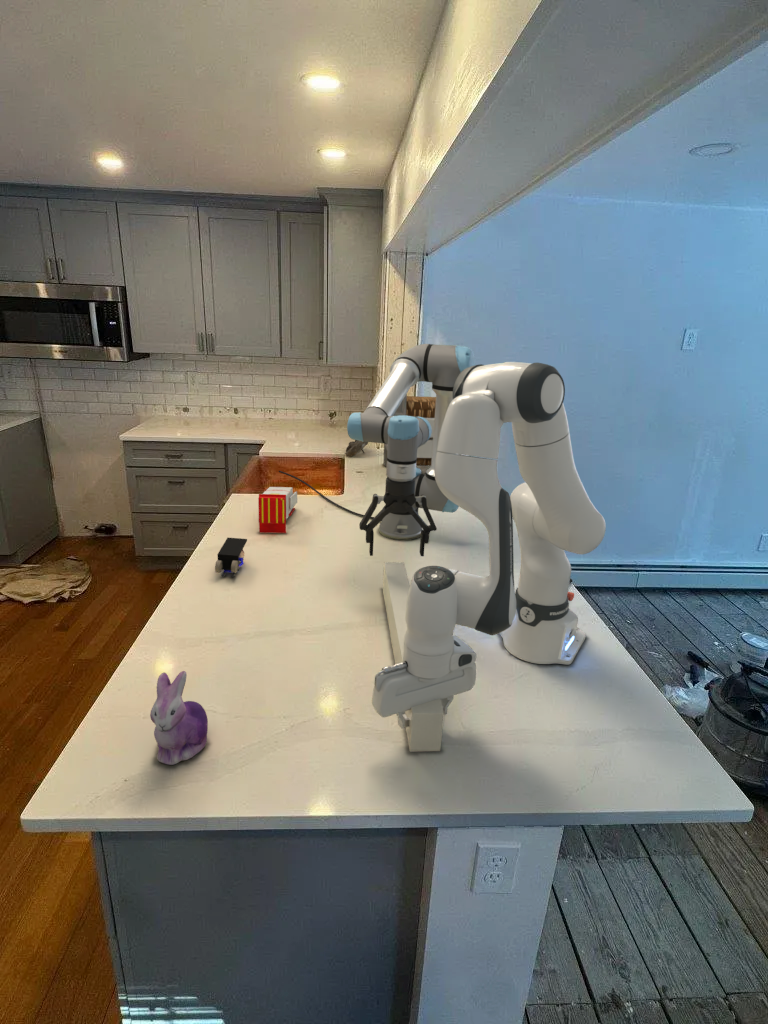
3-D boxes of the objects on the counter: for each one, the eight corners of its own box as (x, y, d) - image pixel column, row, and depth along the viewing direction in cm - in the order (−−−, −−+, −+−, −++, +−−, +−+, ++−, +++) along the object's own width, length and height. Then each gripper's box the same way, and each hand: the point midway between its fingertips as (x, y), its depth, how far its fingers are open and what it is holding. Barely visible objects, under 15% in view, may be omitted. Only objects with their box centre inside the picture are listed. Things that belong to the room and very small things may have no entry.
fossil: (345, 440, 316) (366, 424, 311) (356, 453, 319) (377, 438, 314) (339, 453, 297) (361, 437, 292) (350, 467, 300) (373, 452, 295)
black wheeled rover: (238, 584, 162) (249, 557, 175) (236, 562, 158) (247, 536, 172) (215, 584, 161) (227, 556, 175) (212, 561, 158) (225, 535, 171)
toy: (299, 482, 220) (288, 496, 190) (299, 516, 222) (288, 534, 193) (267, 481, 219) (252, 495, 190) (268, 515, 222) (253, 533, 193)
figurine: (158, 776, 94) (149, 701, 89) (151, 736, 102) (142, 665, 97) (216, 758, 98) (211, 685, 93) (204, 721, 107) (199, 653, 102)
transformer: (382, 463, 289) (386, 382, 275) (445, 464, 293) (451, 384, 279) (390, 482, 257) (394, 392, 243) (460, 483, 261) (468, 394, 247)
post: (382, 589, 160) (383, 561, 157) (402, 589, 161) (403, 562, 158) (409, 751, 102) (412, 713, 99) (440, 751, 102) (444, 712, 99)
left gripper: (352, 480, 140) (350, 559, 147) (451, 482, 142) (445, 560, 149) (351, 472, 147) (349, 548, 154) (446, 474, 149) (440, 548, 156)
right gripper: (383, 680, 93) (380, 747, 98) (484, 652, 103) (476, 714, 107) (367, 660, 99) (364, 724, 103) (464, 634, 108) (457, 694, 113)
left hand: (396, 554), depth 151 cm, fingers open, 13 cm apart
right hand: (422, 719), depth 105 cm, fingers closed on post, 7 cm apart
